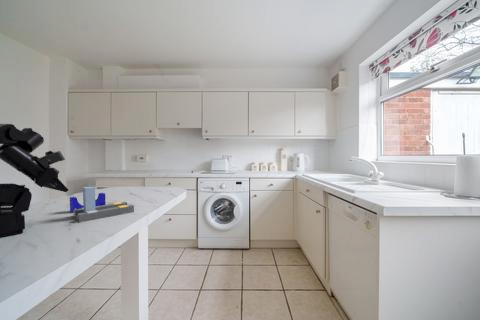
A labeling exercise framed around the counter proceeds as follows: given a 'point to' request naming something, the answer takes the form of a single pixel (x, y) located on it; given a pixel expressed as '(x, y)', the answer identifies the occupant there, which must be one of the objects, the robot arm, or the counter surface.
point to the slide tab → (89, 198)
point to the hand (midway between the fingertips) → (67, 191)
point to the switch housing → (103, 211)
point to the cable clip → (75, 205)
